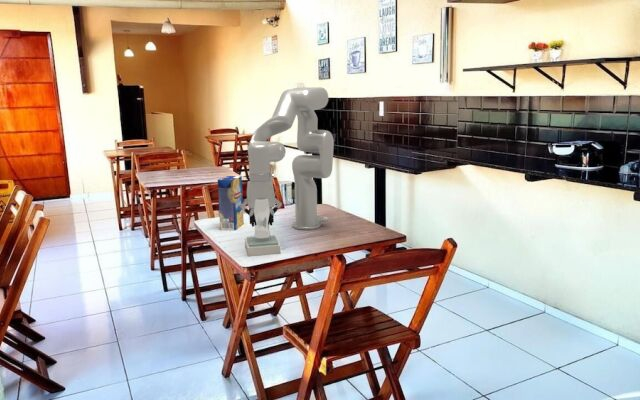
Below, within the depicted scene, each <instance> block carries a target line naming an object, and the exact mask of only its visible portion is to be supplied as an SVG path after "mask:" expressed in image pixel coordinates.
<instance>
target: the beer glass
mask: <svg viewBox="0 0 640 400" xmlns="http://www.w3.org/2000/svg"><path fill="white" fill-rule="evenodd" d="M270 215H271V212H270V206H269V201H268V199H255V206H254V209H253V216H254V234H253V235H254V236H253V237H255V238H258V239H265V238H269V237H270V236H271V231H270V224H269V222H270Z"/></svg>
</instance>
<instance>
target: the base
mask: <svg viewBox="0 0 640 400" xmlns="http://www.w3.org/2000/svg"><path fill="white" fill-rule="evenodd" d="M244 248H245V251H246V254H247V257H255V256H268V255H269V256H270V255H280V254H281V250H282V249H281V244H280V242H279V240H278V238H277V237H276V236H275V234H273V235H271V234H270V237H269V238H265V239H258V238H255V237H254V236H247V237H246V238H244Z"/></svg>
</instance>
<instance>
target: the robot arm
mask: <svg viewBox="0 0 640 400" xmlns="http://www.w3.org/2000/svg"><path fill="white" fill-rule="evenodd" d="M328 103H329V94H328V91H327V90H326V88H325V87H321V86H320V87H315V86H313V87H310V86H309V87H306V86H304V87H295V88H292V89H291V88H290V89H285V90H284V91H283V92H282V93H281V95H280V97H279V100H278V102H277V104H276V107H275V109H274V111H273V114H272V115H271V118H269V119H267V120H266V121H265V122H263V123H262V124H261V125H260V126H258V128H256V129H255V130H254V132H253V134H252V136H251V138H250V141H249V144H248V147H247V154H248V165H249V166H248V168H249V170H248V171H249V181H247V186H246V198H245V200H243V203H242V204H241V205H240V208H241V209H242V210H243V212H245V213H246V214H247V215H248V217H249V225H251V226H252V228H253V227H254V228H255V224H254V216H253V209H254V206H255V199H268V201H269V206H270V212H271V215H270V222H269V226H273V224H274V223H275V220H274V215H275V213H276V212H277V211H278V210H279V209H280V208H281V207H282V205H283V203H282V202H281V201H280V200H278V199H277V198H276V197H275V189H274V184H273V180H272V179H273V178H275V174H274V173H271V163H278V162H281V161H283V159H284V158H285V156H286V153H287V152H286V147H285V145H284V144H283V143H281V142H278V141H270V140H269V139H270V138H272V137H273V136H276V135H279V134H282V133H284V132H287V131H288V130H290V129H291V128H292V127H293V124H294V122H295V119H296V118H297V130H296V131H297V134H296V135H297V136H296V146H297V149H298V150H299V151H301V152H305V153H306V152H307V153H319V155H313V154H312V155H311V154H301V155H297V156H295V157H294V158H293V160H292V163H291V168H292V174H293V179H294V200H295V201H294V204H295V207H294V208H295V209H294V211H295V215H294V216H295V221H294V222H292V225H291V226H292V228H293V229H297V230H303V231H306V230H307V231H308V230H311V231H312V230H317V229H319V228H321V226H322V225H321V223H323V222H324V223H325V222H326V223H328V221H329V218H328V217H327V216H325V217H324V216H318V189H317V185H316V182H315V180H314V179H313V178H315V179H327V178H329V177H331V175H332V172H333V164H334V163H333V162H334V161H333V160H334V148H335V147H334V144H335V141H334V137H333V134H332V132H331V131H329V130H327V129H326V130H325V129H318V120H319V119H318V116H317V114H316V112H315V111H316V110H320V109H321V110H322V109H324V108H326V106H327V105H328ZM296 116H297V117H296ZM267 140H269V141H267ZM246 206H247V207H248V208H247V207H246Z"/></svg>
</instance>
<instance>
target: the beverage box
mask: <svg viewBox="0 0 640 400" xmlns="http://www.w3.org/2000/svg"><path fill="white" fill-rule="evenodd" d="M242 178H243V177H242V175H241V176H240V175H226V176H224V177H221V178H218V179H217V194H218V211H219V213H218V214H219V215H218V216H219V230H220V231H236V230H238V229H239V228H241V227H242V226H243V225H245V223H244V222H245V220H244V210H242V209H241V208H240V205H241V204H242V203H243V202H244V200H243V199H244V197H243V179H242Z"/></svg>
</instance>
